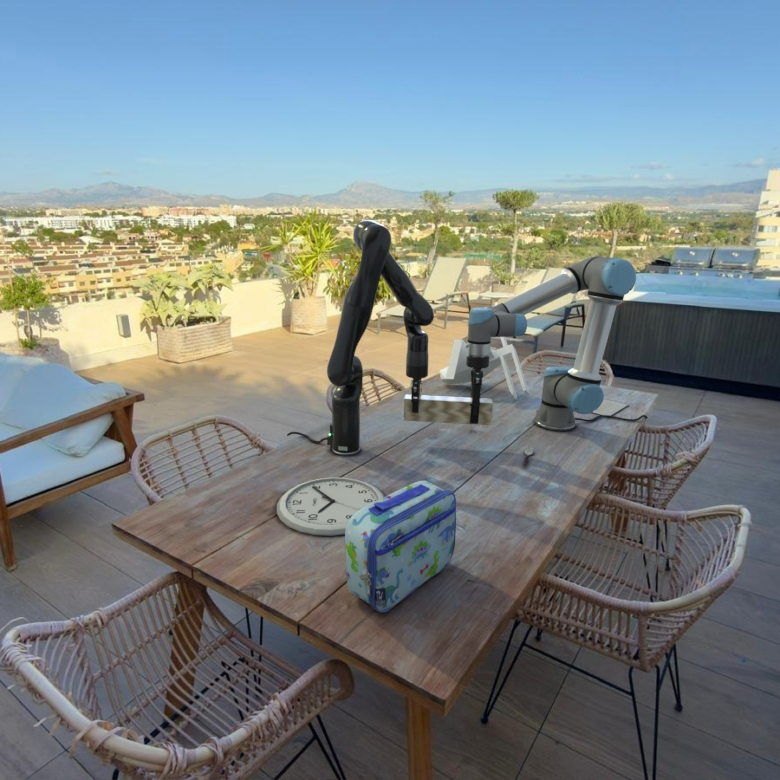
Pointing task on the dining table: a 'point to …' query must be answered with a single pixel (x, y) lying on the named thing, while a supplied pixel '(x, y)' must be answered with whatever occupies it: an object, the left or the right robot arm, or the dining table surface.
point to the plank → (447, 409)
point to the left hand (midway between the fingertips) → (415, 409)
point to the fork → (527, 454)
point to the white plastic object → (462, 372)
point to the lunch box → (399, 543)
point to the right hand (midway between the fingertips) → (473, 420)
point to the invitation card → (609, 407)
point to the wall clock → (325, 504)
